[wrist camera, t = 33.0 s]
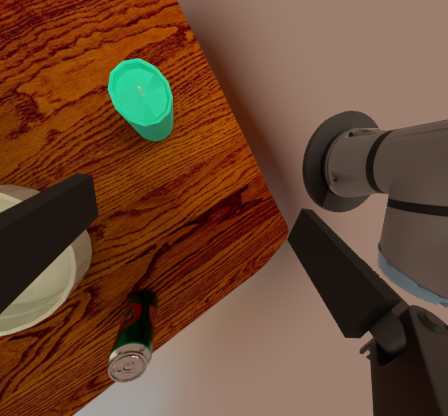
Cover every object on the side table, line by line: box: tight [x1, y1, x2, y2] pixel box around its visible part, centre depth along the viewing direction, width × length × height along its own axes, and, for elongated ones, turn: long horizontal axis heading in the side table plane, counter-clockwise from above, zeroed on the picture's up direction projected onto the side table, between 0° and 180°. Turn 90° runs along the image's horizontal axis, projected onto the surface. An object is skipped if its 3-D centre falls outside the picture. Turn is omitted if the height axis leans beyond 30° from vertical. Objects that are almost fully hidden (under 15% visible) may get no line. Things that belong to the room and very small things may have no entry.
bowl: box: [0, 184, 92, 336], centre depth 24 cm, size 19×19×6 cm
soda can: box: [108, 290, 158, 383], centre depth 27 cm, size 5×5×12 cm
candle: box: [108, 58, 173, 142], centre depth 22 cm, size 6×6×12 cm
